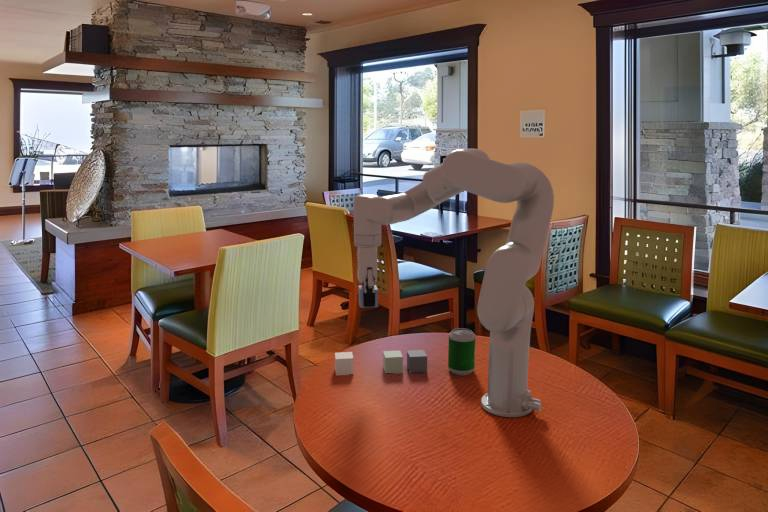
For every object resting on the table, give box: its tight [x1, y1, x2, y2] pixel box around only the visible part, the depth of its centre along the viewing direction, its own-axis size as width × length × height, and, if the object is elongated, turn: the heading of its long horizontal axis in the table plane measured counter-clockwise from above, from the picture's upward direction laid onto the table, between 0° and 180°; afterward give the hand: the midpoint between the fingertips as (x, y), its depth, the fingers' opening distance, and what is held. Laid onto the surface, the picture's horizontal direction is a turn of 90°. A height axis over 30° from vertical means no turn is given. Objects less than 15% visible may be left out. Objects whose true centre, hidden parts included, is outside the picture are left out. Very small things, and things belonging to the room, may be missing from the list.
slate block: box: [357, 284, 379, 308], centre depth 158 cm, size 5×5×5 cm
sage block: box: [382, 350, 404, 375], centre depth 163 cm, size 5×5×5 cm
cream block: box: [334, 351, 355, 376], centre depth 162 cm, size 5×5×5 cm
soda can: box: [447, 327, 477, 376], centre depth 161 cm, size 8×8×12 cm
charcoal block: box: [406, 349, 428, 373], centre depth 164 cm, size 5×5×5 cm
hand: (368, 302), depth 159 cm, fingers closed on slate block, 4 cm apart
